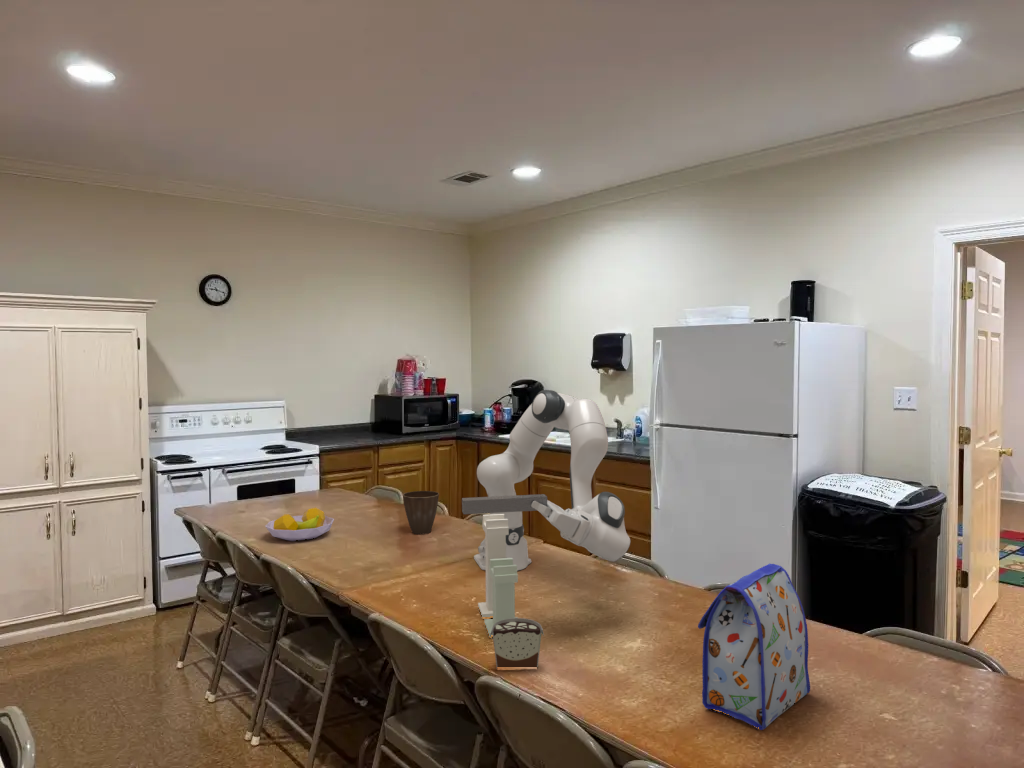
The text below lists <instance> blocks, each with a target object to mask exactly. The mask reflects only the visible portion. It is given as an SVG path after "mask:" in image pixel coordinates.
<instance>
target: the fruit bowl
mask: <svg viewBox="0 0 1024 768" xmlns="http://www.w3.org/2000/svg"><path fill="white" fill-rule="evenodd" d="M325 514H326V513H325V512H324V511H323V510H321V509H320V508H318V507H316V506H315V507H311V508H308V509H307V510H306V511H304V513H303V514H302V515H294V516H292V515H291V514H288V513H284V514H282V515H281V516H279V517H278V518H276V519H273V520H270V521H268V523H266V524H265V528H266V529H267V531H268V532H269V533H270V535H271V536H272V537H274V538H278V539H282V540H286V541H289V542H296V540H298V541H306V540H305V539H307V540H314V539H315V538H318V537H320V536H321V535H323V534H325V533H327V532H328V531H330V530H331V528H332V525H333V523H334V521H335V518H333V517H330V516H326V515H325ZM313 538H314V539H313Z"/></svg>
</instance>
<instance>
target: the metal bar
mask: <svg viewBox="0 0 1024 768" xmlns="http://www.w3.org/2000/svg"><path fill="white" fill-rule="evenodd" d="M533 500H535V501H537V502H539V503H540V504H542V505H544V506H547V500H548V496H547V495H546V494H544V493H541V494H539V493H538V494H523V495H522V494H520V495H517V494H516V496H496V497H488V496H479V497H478V496H475V497H461V512H462V514H463V515H479V514H490V513H500V512H519V511H522V512H533V511H535V512H536V511H538V510H536V509H534V508H532V507H531V503H532V501H533ZM538 512H539V511H538Z"/></svg>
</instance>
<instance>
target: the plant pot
mask: <svg viewBox="0 0 1024 768" xmlns="http://www.w3.org/2000/svg"><path fill="white" fill-rule="evenodd" d="M439 496H440V493H439V492H437V491H431V490H417V491H416V490H414V491H407V492H404V493H403V494H402V500H403V506H404V511H405V515H406V518H407V521H408V524H409V527H410V531H411V533H412V534H413V533H414V534H413V535H427V534H430V533H431V531H432V529H433V526H434V522H435V519H436V515H437V509H438V506H439V505H438V503H439V498H440V497H439Z"/></svg>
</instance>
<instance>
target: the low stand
mask: <svg viewBox="0 0 1024 768" xmlns="http://www.w3.org/2000/svg"><path fill="white" fill-rule="evenodd" d="M489 569H490V575H491V577H492V579H493V619H484V621H483V622H484V623H485V625H486V628H487V630H488V633H489V636H490V634H491V629H492V627H493V625H494V624H495V623H496V622H498V621H501V620H504V619H510V618H519V617H518V616H516V608H515V607H516V604H515V603H516V602H515V601H516V598H515V594H516V593H515V592H516V589H515V588H516V587H515V586H516V585H515V583H518V582H519V573H518V570H517V565H513V559H512V558H501V559H490V566H489ZM484 623H483V624H484ZM485 625H484V626H485ZM486 628H485V629H486ZM488 633H487V634H488ZM491 635H493V633H492V634H491ZM489 636H488V637H489Z"/></svg>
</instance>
